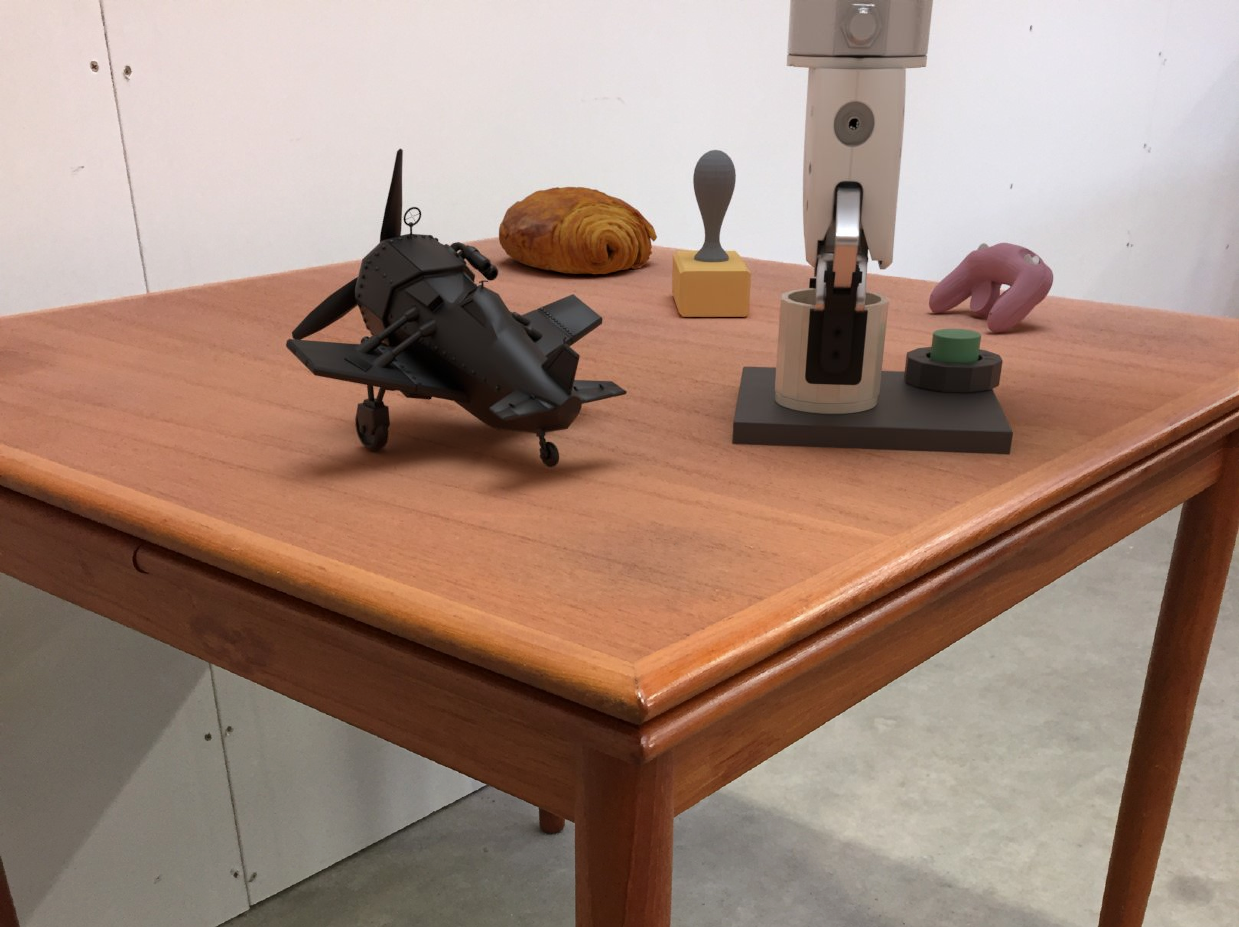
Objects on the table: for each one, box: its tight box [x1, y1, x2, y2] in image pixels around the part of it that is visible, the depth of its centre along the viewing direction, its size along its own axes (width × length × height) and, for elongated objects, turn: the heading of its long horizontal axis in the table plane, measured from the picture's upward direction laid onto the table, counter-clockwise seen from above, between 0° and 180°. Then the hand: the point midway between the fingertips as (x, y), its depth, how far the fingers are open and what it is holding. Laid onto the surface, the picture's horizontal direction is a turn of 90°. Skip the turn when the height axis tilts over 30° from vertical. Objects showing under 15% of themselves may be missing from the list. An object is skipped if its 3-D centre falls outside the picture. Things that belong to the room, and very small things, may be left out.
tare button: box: [930, 328, 982, 363], centre depth 85 cm, size 3×3×2 cm
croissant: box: [498, 186, 658, 275], centre depth 130 cm, size 14×16×8 cm
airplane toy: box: [285, 148, 628, 468], centre depth 75 cm, size 20×19×15 cm
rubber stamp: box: [671, 149, 752, 318], centre depth 112 cm, size 10×6×12 cm, turn 2°
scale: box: [731, 346, 1014, 455], centre depth 83 cm, size 16×14×3 cm
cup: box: [774, 287, 890, 414], centre depth 81 cm, size 6×6×6 cm
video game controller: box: [928, 242, 1054, 334], centre depth 109 cm, size 10×5×7 cm, turn 22°
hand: (831, 363), depth 81 cm, fingers open, 9 cm apart
